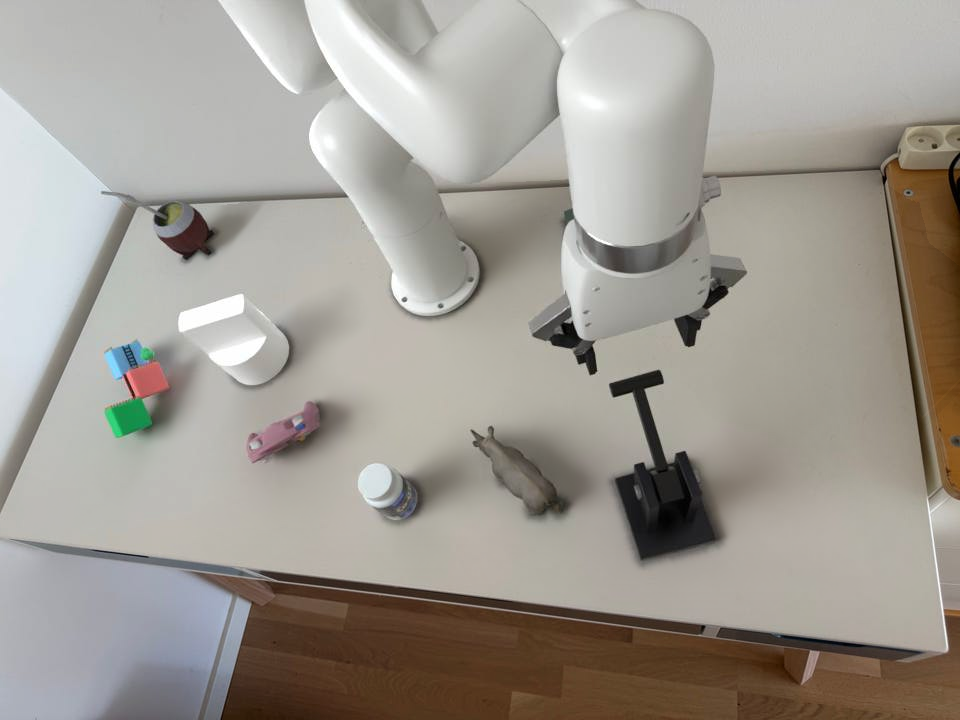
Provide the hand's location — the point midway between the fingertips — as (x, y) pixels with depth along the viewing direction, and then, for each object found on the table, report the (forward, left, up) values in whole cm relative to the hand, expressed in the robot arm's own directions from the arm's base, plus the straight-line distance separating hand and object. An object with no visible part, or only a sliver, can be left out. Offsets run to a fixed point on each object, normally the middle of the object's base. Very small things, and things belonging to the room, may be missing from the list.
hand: (635, 346), depth 56 cm
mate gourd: (-50, -56, -22) cm, 78 cm away
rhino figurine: (+1, -15, -22) cm, 27 cm away
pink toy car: (-12, -42, -22) cm, 49 cm away
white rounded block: (-26, -46, -22) cm, 57 cm away
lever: (+4, 0, -11) cm, 12 cm away
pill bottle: (0, -29, -22) cm, 36 cm away
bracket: (+9, 0, -22) cm, 24 cm away
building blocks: (-25, -64, -22) cm, 72 cm away
